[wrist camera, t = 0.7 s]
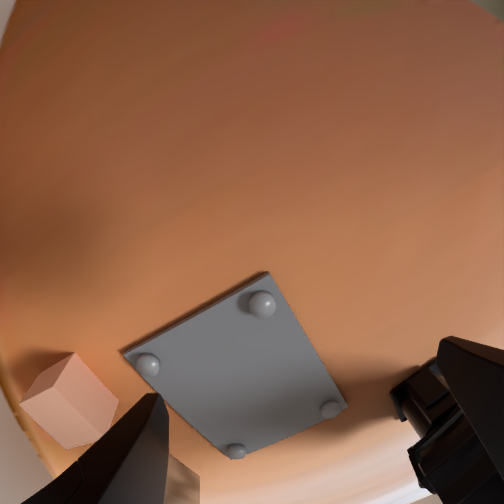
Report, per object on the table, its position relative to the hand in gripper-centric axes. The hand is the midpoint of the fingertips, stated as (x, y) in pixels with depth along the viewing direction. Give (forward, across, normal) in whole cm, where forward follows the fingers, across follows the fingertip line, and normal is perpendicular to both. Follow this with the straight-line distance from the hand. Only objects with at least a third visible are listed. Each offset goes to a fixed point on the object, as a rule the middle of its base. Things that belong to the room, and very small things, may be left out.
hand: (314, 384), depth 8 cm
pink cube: (+14, +18, +10) cm, 25 cm away
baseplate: (+14, +2, +11) cm, 18 cm away
